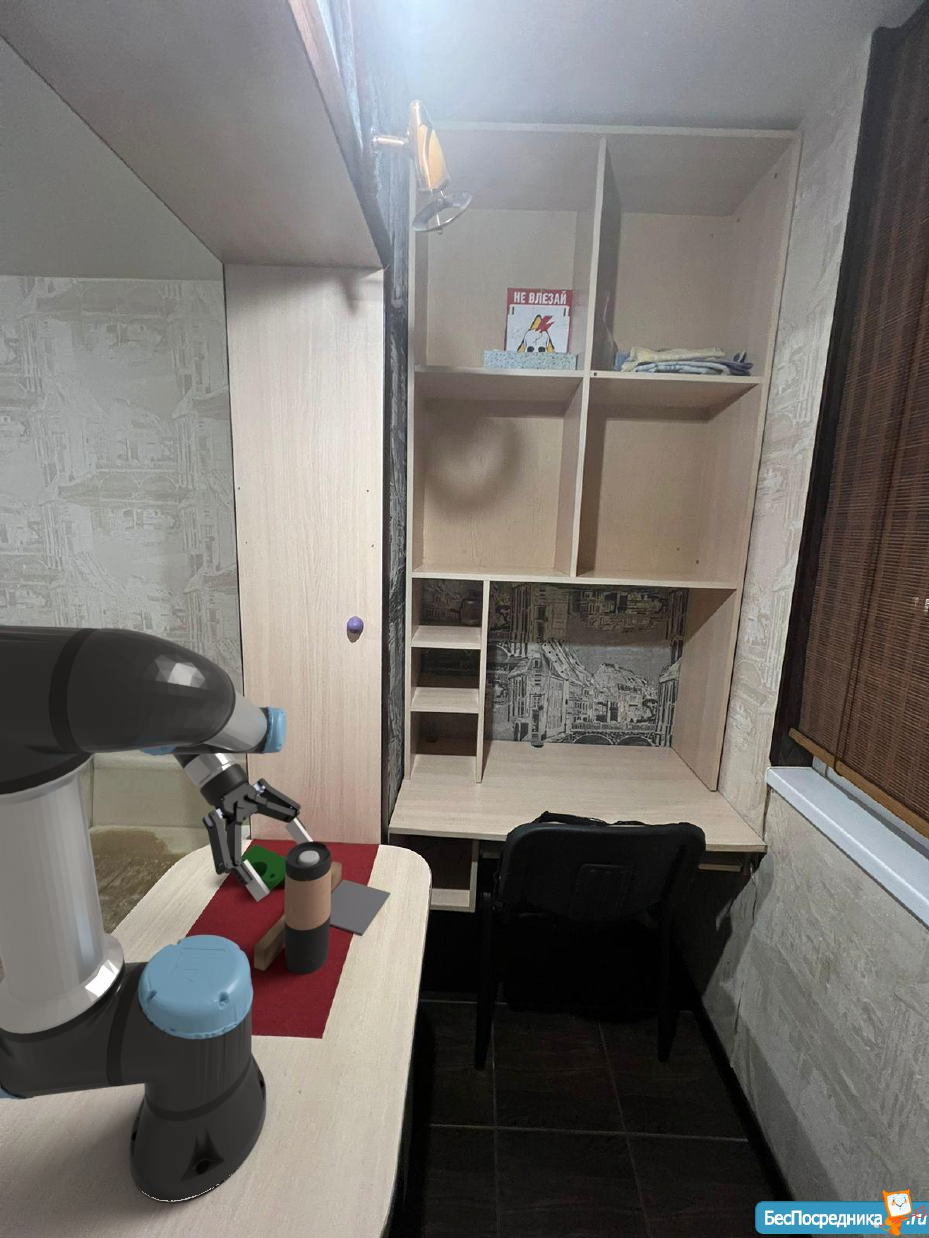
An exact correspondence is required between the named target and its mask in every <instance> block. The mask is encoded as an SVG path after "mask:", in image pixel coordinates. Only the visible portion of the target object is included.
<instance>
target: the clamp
mask: <svg viewBox="0 0 929 1238" xmlns="http://www.w3.org/2000/svg"><path fill="white" fill-rule="evenodd" d="M285 859H286V856H283V855H280V854H278V853H276V852H273V851H272V850H269V849H268V848H265V847H263V846H261V845H259V844H254V845H253V846H252V847H251V848H249V849H248V850H247V851H246V852H245V853H244V854H242V862H241V863H243V862H244V861H245V860H248V862H249V863H250V865H251V866H252V867H253V869H254V870H255V871H256V873H257V874H258V876H259V877H260V878H261V880H262V881H263V882H264V884H265V885H266V887H267V888H268V889H269V891H270V892H271V891H272V890H274V888H275V887H276V886H278V885H279V884H280V885H283V886H285Z"/></svg>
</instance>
